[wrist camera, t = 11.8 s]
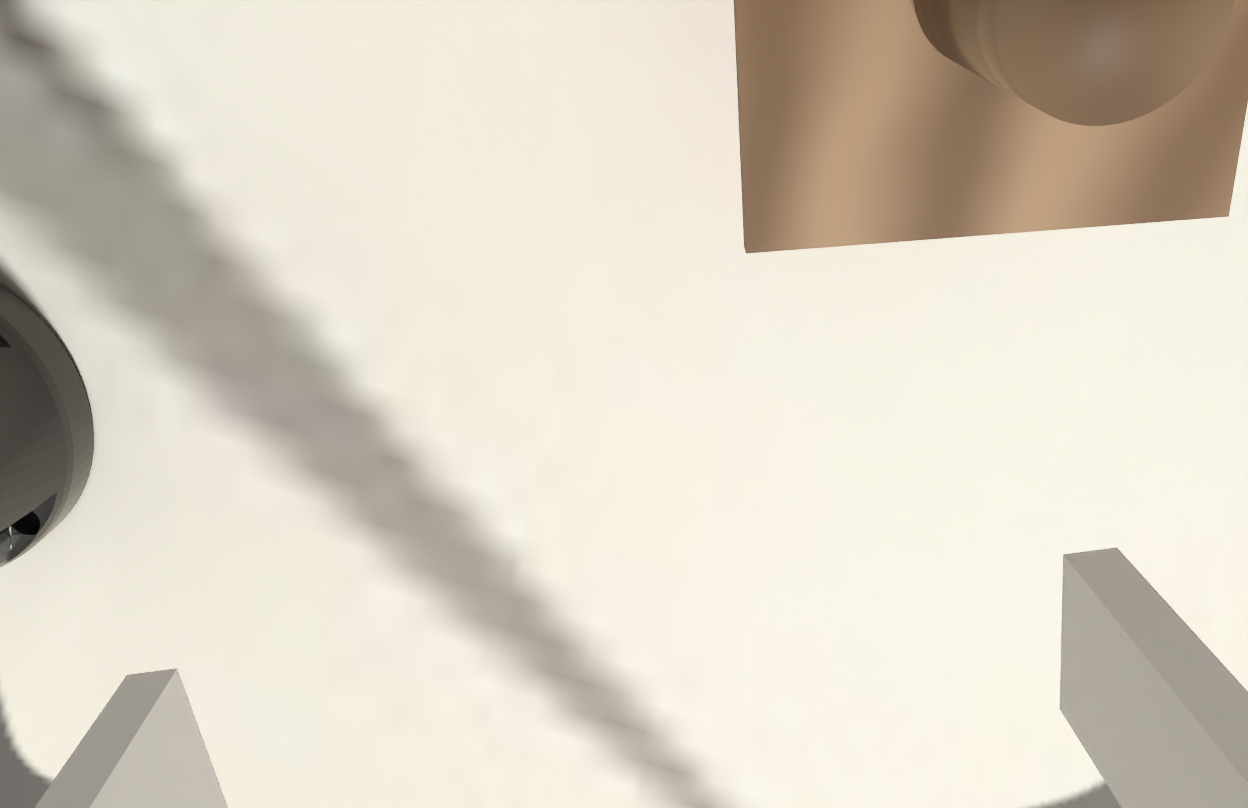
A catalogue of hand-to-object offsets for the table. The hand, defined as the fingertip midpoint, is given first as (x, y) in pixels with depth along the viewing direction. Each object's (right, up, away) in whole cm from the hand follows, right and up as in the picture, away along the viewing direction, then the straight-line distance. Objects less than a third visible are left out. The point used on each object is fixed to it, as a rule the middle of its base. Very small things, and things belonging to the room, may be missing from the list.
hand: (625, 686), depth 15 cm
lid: (+10, +16, +13) cm, 23 cm away
